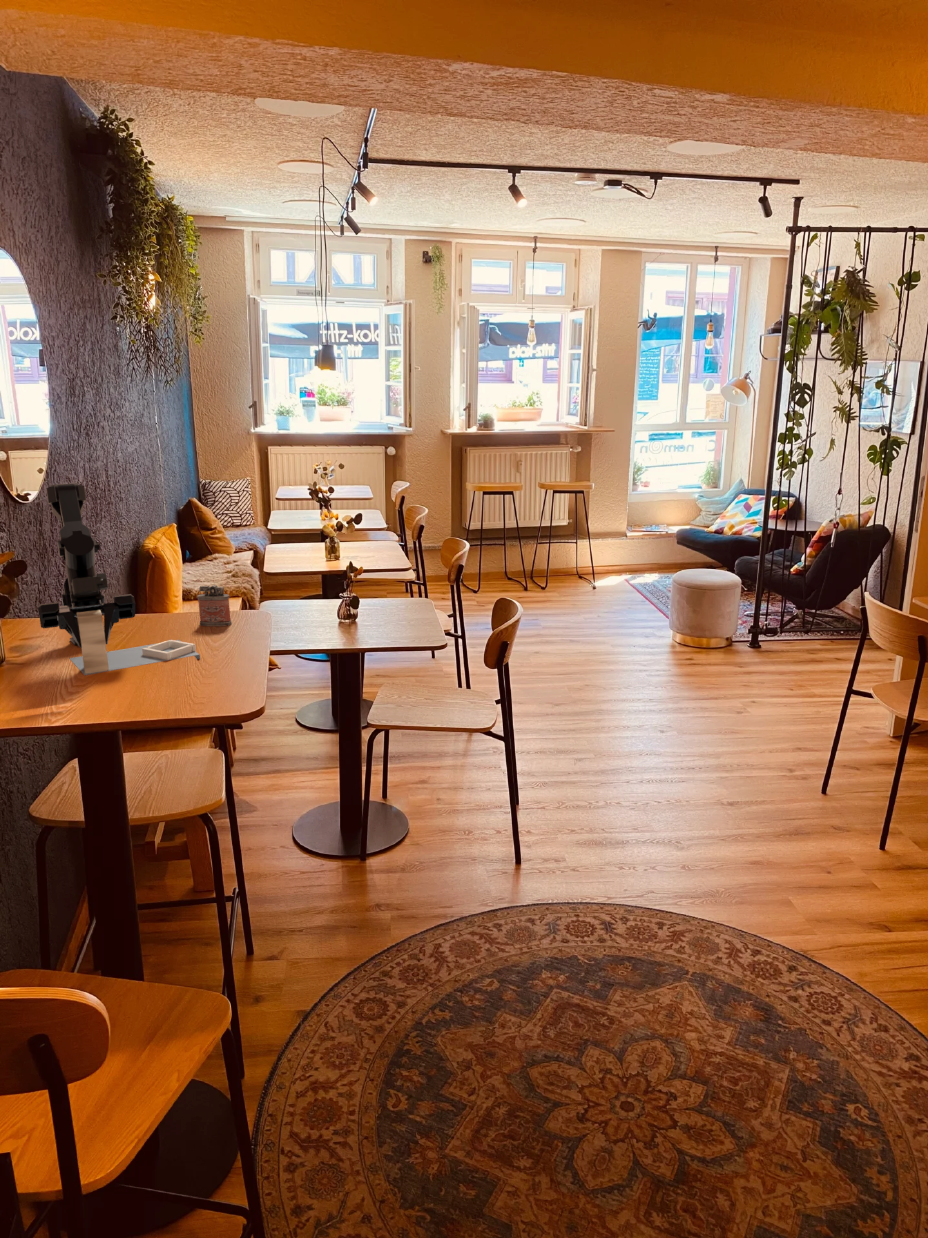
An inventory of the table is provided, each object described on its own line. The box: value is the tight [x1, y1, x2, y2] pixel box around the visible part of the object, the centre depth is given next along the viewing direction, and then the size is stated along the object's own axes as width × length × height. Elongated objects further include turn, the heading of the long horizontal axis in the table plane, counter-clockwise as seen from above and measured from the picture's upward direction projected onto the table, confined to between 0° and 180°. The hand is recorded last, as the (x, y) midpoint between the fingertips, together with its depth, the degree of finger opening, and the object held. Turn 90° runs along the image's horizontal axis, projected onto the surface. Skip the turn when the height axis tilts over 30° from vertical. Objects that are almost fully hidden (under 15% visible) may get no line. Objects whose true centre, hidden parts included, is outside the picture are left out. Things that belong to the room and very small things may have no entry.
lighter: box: [196, 584, 232, 627], centre depth 226 cm, size 8×3×10 cm, turn 84°
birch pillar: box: [77, 610, 109, 674], centre depth 188 cm, size 5×5×12 cm
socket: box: [142, 639, 197, 661], centre depth 200 cm, size 8×8×2 cm
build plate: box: [69, 639, 201, 676], centre depth 198 cm, size 15×24×1 cm, turn 124°
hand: (93, 645), depth 187 cm, fingers closed on birch pillar, 5 cm apart
